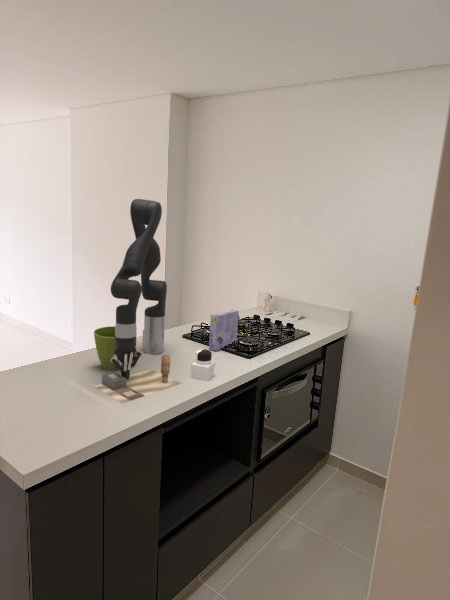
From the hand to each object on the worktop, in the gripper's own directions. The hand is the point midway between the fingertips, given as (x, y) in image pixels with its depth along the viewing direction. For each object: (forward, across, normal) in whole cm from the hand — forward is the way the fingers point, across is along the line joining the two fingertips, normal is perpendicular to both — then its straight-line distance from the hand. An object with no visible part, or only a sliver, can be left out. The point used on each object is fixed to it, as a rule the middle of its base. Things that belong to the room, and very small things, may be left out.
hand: (125, 379), depth 153 cm
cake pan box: (+4, -64, -9) cm, 65 cm away
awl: (+1, -11, +9) cm, 15 cm away
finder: (+1, +4, -1) cm, 5 cm away
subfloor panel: (+3, -2, +5) cm, 6 cm away
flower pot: (+3, -6, -16) cm, 17 cm away
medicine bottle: (+3, -26, +14) cm, 30 cm away
